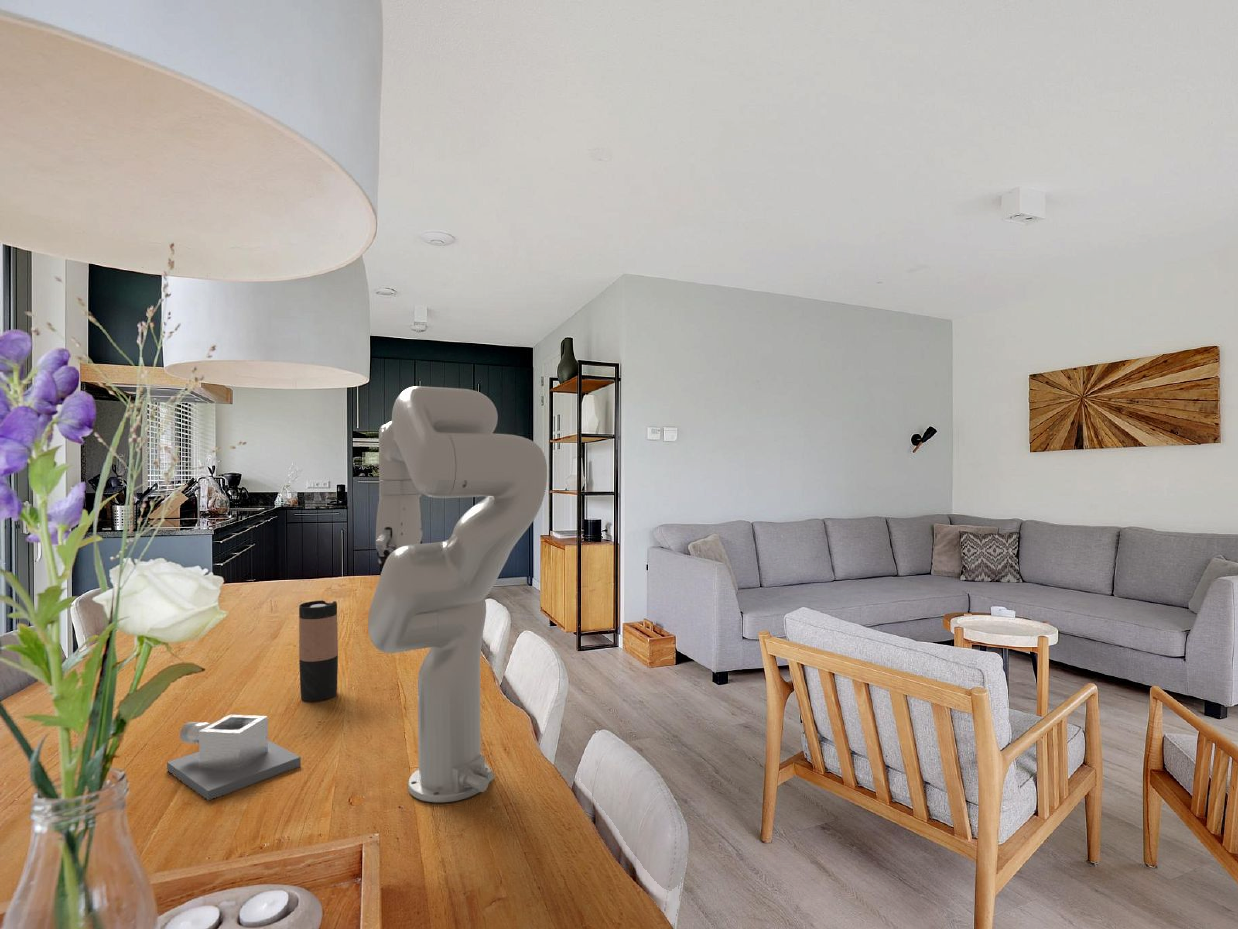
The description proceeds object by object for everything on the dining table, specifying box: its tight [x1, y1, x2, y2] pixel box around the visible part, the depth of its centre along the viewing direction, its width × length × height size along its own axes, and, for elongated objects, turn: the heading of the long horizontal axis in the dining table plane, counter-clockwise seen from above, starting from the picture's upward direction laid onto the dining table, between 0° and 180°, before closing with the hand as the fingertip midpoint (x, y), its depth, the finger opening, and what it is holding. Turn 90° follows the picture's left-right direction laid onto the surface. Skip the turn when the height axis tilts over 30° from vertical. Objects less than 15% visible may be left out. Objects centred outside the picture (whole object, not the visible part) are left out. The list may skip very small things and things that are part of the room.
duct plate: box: [166, 729, 302, 802], centre depth 109 cm, size 16×14×6 cm
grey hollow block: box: [179, 714, 269, 771], centre depth 109 cm, size 12×7×6 cm, turn 83°
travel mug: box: [298, 600, 339, 703], centre depth 143 cm, size 8×8×20 cm
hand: (401, 580), depth 124 cm, fingers open, 9 cm apart
